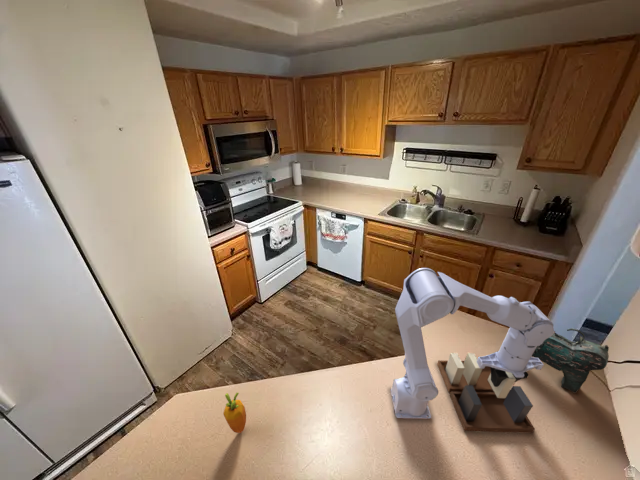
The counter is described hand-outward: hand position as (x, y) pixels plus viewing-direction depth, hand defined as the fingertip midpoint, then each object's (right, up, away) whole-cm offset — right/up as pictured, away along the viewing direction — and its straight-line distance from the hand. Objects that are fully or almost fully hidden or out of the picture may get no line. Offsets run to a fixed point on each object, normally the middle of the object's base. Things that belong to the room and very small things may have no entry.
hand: (498, 383), depth 68 cm
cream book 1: (-7, -5, +12) cm, 14 cm away
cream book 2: (-2, -5, +11) cm, 12 cm away
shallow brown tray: (-1, -5, +12) cm, 13 cm away
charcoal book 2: (+5, -9, +2) cm, 11 cm away
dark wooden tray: (-1, -10, +3) cm, 10 cm away
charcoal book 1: (-7, -9, +3) cm, 12 cm away
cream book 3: (0, -2, +1) cm, 2 cm away
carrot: (-68, -13, 0) cm, 69 cm away
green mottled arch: (+21, -4, +13) cm, 25 cm away
